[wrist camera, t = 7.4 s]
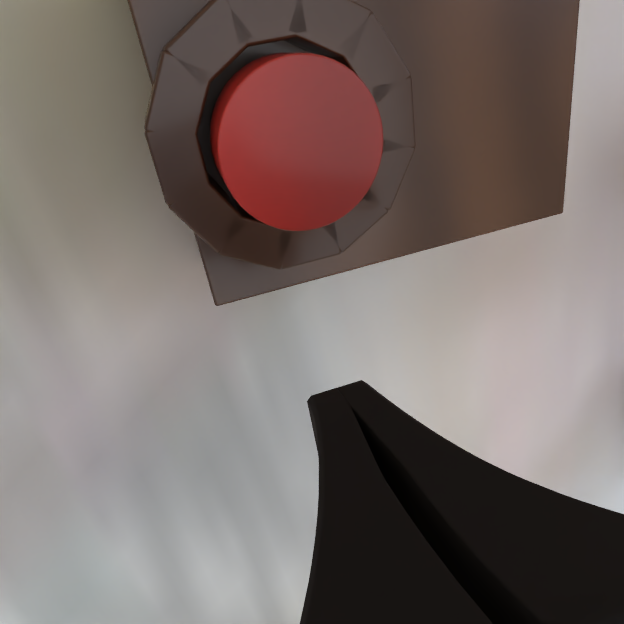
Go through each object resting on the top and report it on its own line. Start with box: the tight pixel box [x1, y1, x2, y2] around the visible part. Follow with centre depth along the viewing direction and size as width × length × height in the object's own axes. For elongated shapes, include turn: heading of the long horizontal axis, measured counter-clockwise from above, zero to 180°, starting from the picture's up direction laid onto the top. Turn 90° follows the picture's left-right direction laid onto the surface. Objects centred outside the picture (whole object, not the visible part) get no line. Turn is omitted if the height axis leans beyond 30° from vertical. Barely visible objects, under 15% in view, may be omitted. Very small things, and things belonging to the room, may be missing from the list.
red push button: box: [210, 53, 383, 231], centre depth 13 cm, size 4×4×2 cm
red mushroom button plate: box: [128, 0, 580, 306], centre depth 16 cm, size 13×10×6 cm
